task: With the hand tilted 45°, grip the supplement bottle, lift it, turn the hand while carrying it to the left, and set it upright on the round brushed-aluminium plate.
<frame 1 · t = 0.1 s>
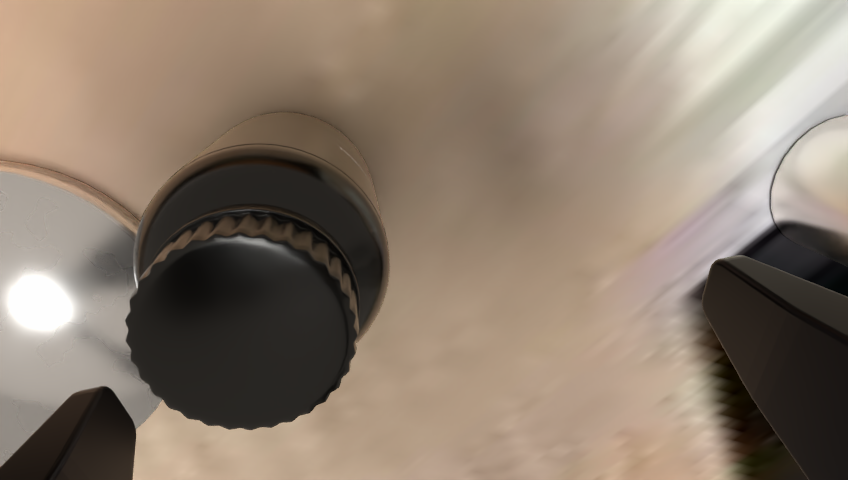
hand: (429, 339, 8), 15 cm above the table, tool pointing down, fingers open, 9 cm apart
supplement bottle: (289, 190, 23), on the table
metal plate: (21, 315, 23), on the table
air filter: (827, 181, 27), on the table
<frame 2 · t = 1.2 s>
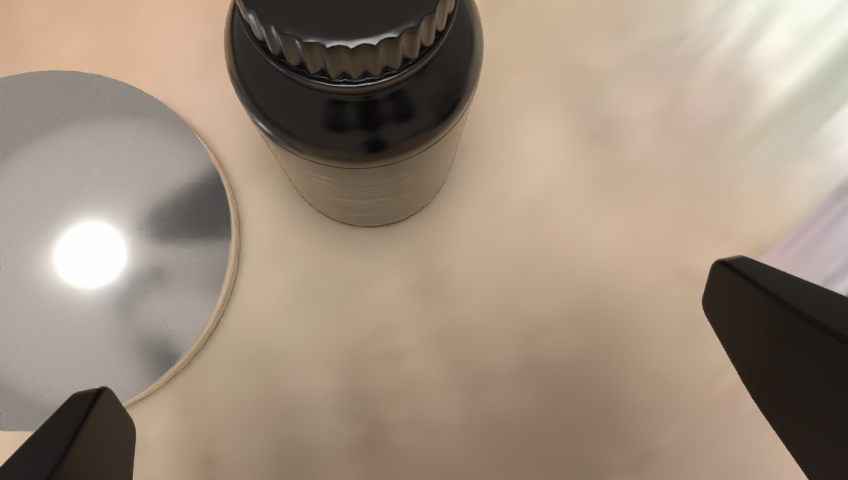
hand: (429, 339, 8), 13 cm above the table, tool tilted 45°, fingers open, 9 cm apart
supplement bottle: (368, 148, 23), on the table
metal plate: (67, 247, 21), on the table
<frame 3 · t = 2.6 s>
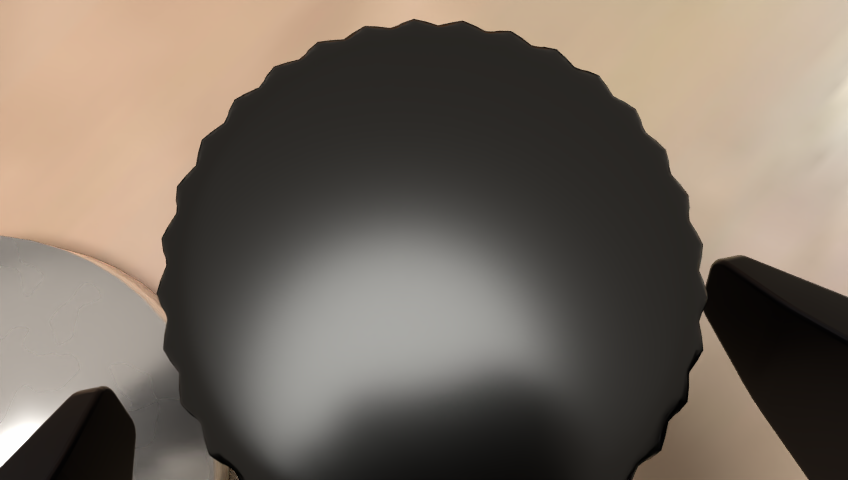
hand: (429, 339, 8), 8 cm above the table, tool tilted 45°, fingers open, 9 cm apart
supplement bottle: (405, 320, 17), on the table
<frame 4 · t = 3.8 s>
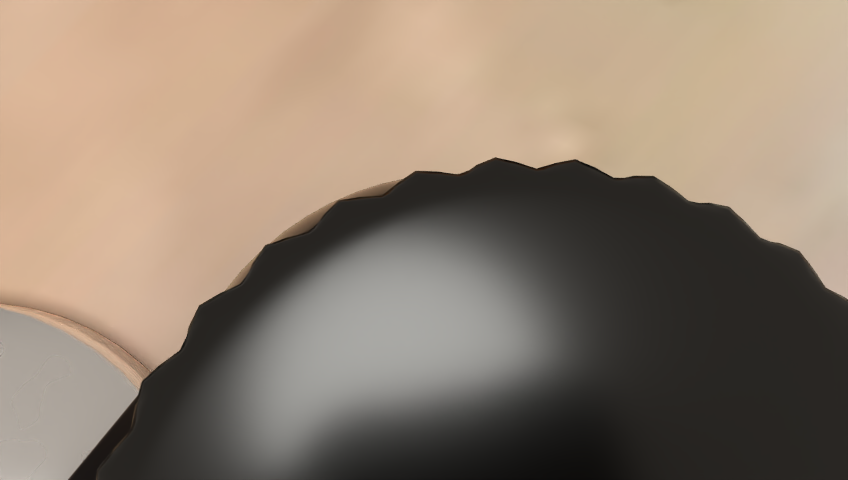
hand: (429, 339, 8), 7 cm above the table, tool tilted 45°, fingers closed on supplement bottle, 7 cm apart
supplement bottle: (421, 387, 15), on the table, touching gripper
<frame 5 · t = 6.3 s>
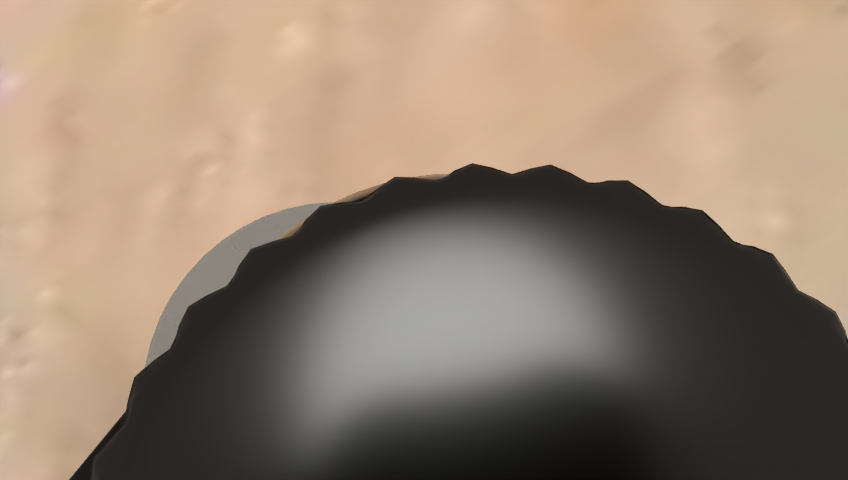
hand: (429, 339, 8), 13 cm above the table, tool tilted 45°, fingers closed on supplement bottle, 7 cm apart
supplement bottle: (432, 382, 15), point 6 cm above the table, touching gripper
metal plate: (337, 378, 21), on the table
when the fingers open (9 cm above the table, at t = 8.4 s): supplement bottle drops 1 cm, resting on metal plate.
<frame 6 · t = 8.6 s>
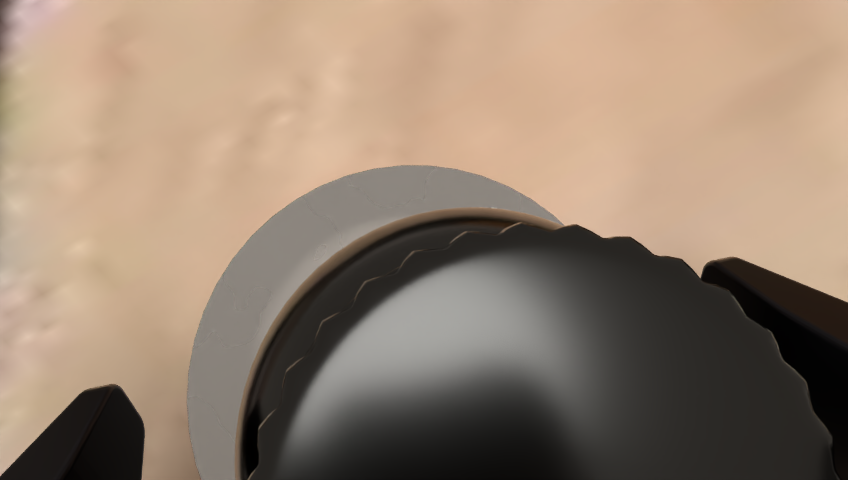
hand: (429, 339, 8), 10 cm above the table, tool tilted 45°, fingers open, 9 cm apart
supplement bottle: (432, 385, 16), point 1 cm above the table, touching metal plate
metal plate: (415, 377, 17), on the table
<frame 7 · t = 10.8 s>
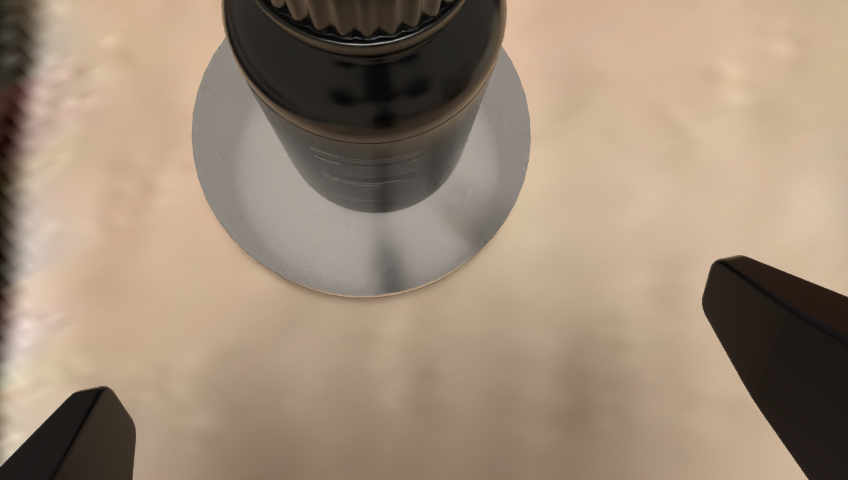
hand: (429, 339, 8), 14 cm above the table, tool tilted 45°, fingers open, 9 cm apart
supplement bottle: (375, 131, 21), point 1 cm above the table, touching metal plate
metal plate: (366, 140, 23), on the table
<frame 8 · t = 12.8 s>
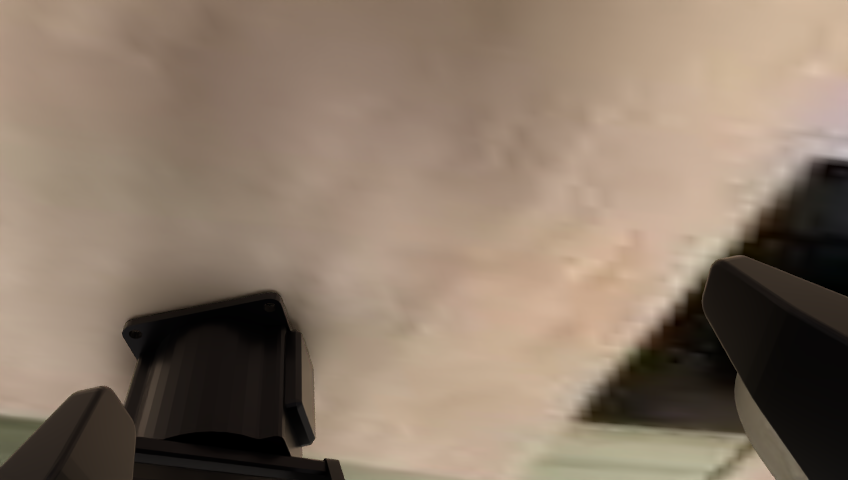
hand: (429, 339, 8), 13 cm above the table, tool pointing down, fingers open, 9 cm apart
glass bottle: (777, 338, 33), on the table
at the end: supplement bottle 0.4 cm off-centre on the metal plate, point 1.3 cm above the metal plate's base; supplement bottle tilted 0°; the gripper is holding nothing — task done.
